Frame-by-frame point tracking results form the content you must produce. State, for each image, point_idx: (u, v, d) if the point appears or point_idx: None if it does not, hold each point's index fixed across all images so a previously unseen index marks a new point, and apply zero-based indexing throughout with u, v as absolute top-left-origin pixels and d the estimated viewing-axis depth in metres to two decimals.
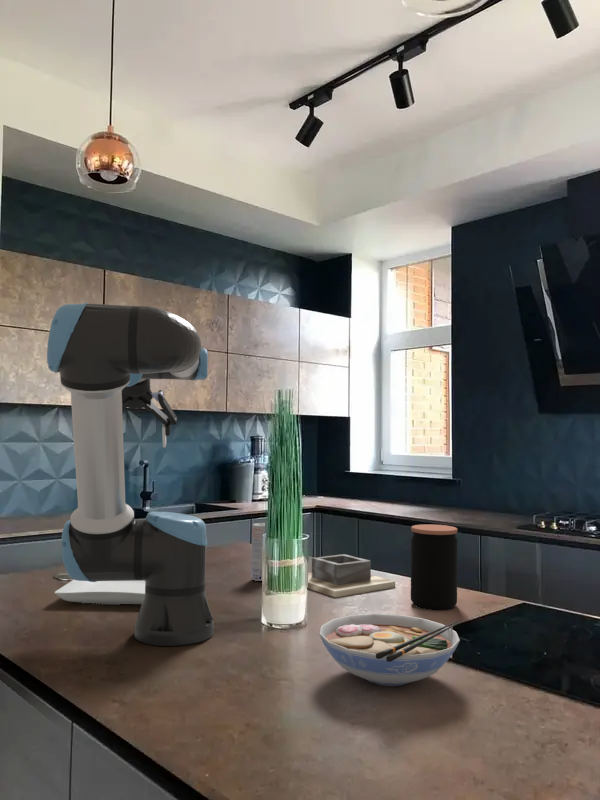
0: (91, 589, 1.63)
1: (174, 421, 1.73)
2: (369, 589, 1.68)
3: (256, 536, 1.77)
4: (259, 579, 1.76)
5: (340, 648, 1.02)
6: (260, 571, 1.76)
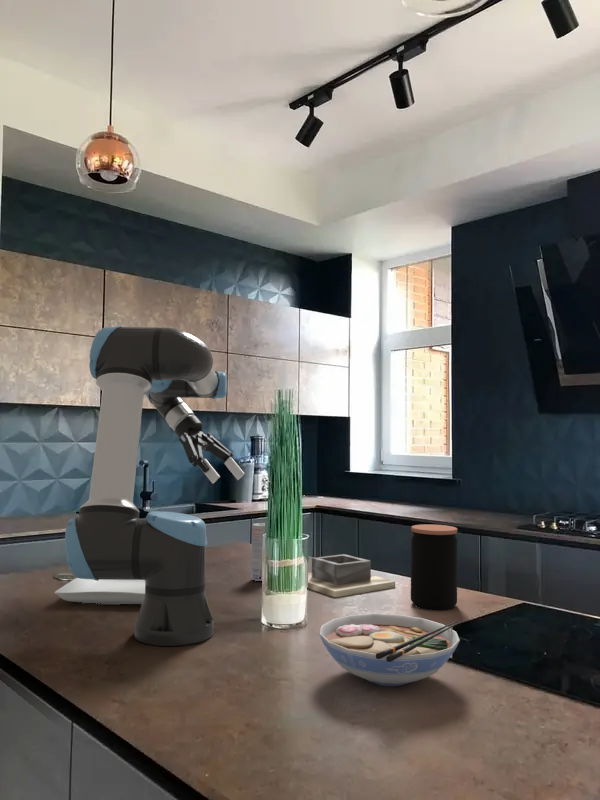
0: (91, 589, 1.63)
1: (231, 452, 1.95)
2: (369, 589, 1.68)
3: (256, 536, 1.77)
4: (259, 579, 1.76)
5: (340, 648, 1.02)
6: (260, 571, 1.76)
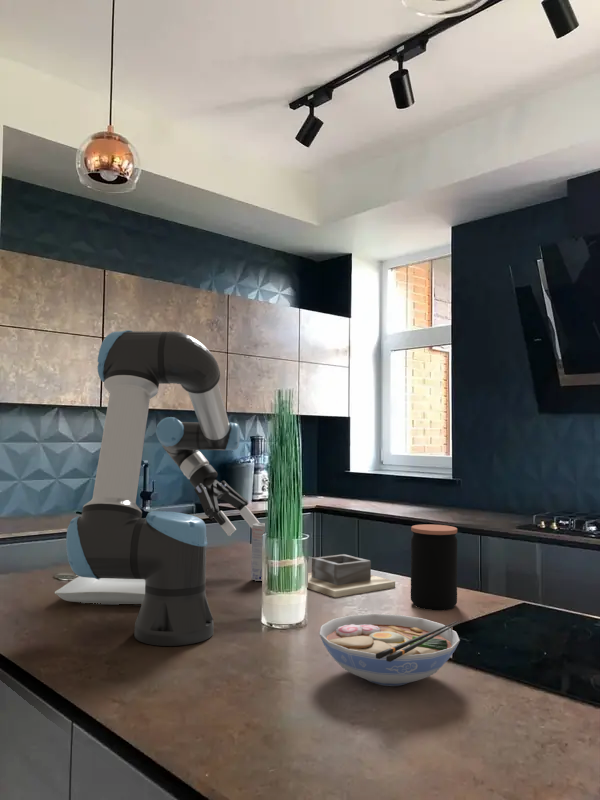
0: (91, 589, 1.62)
1: (245, 500, 1.93)
2: (369, 589, 1.68)
3: (256, 536, 1.77)
4: (259, 579, 1.76)
5: (340, 648, 1.02)
6: (260, 571, 1.76)
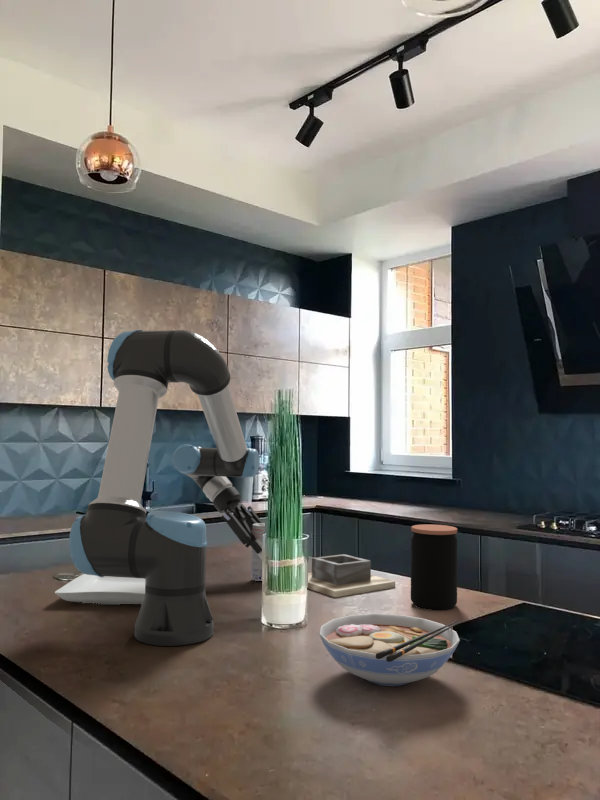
0: (91, 589, 1.62)
1: None
2: (369, 589, 1.68)
3: (256, 536, 1.76)
4: (259, 579, 1.76)
5: (340, 648, 1.02)
6: (260, 571, 1.76)
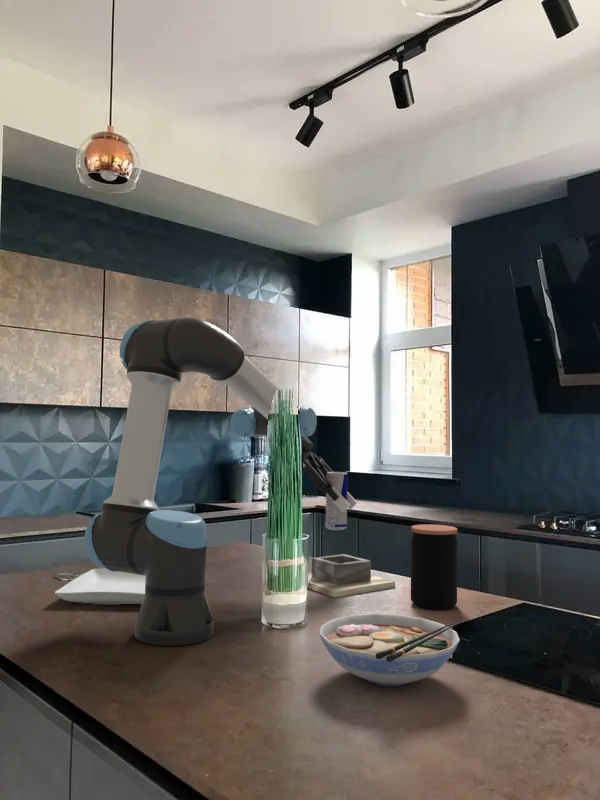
0: (91, 589, 1.62)
1: None
2: (369, 589, 1.68)
3: (331, 484, 1.74)
4: (335, 527, 1.74)
5: (340, 648, 1.02)
6: (336, 519, 1.74)
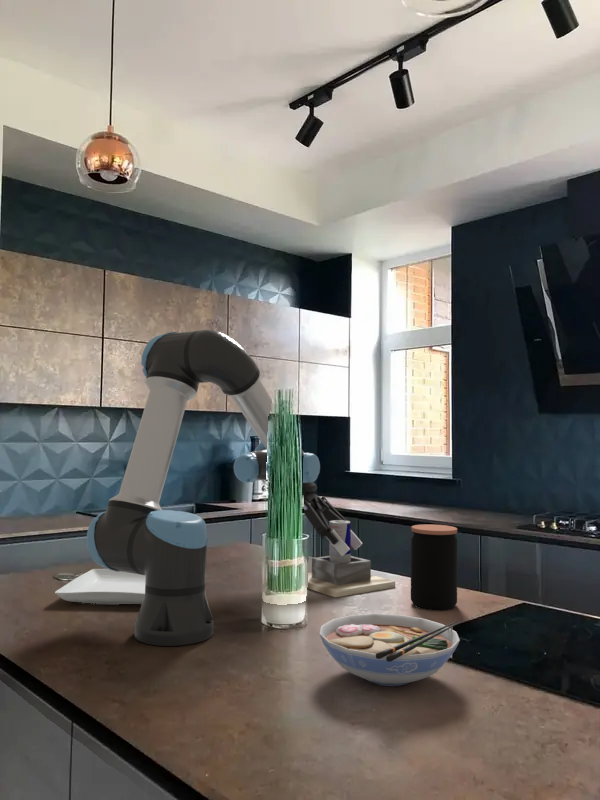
0: (91, 589, 1.62)
1: (345, 519, 1.84)
2: (369, 589, 1.68)
3: None
4: None
5: (340, 648, 1.02)
6: None
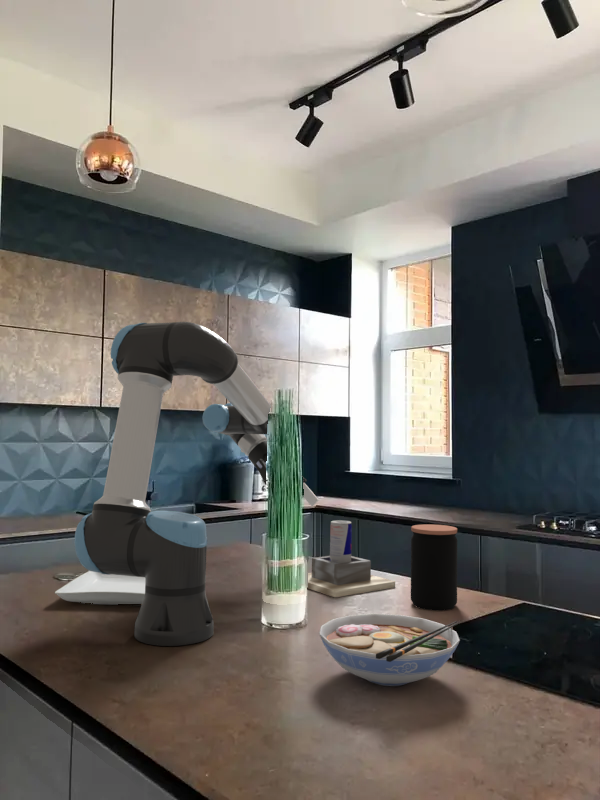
0: (91, 589, 1.62)
1: (303, 477, 1.91)
2: (369, 589, 1.68)
3: (336, 534, 1.73)
4: None
5: (340, 648, 1.02)
6: None
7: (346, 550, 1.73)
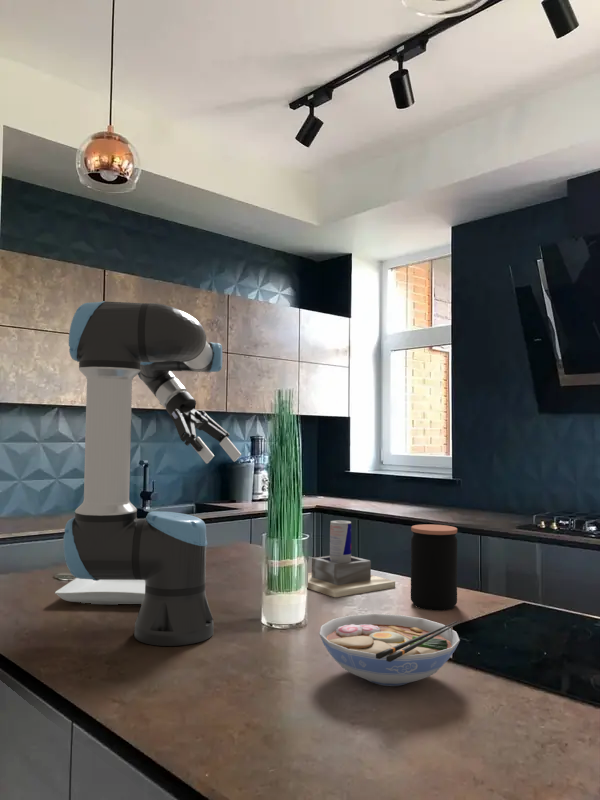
0: (91, 589, 1.62)
1: (227, 432, 1.81)
2: (369, 589, 1.68)
3: (335, 534, 1.73)
4: None
5: (340, 648, 1.02)
6: None
7: (345, 550, 1.73)
